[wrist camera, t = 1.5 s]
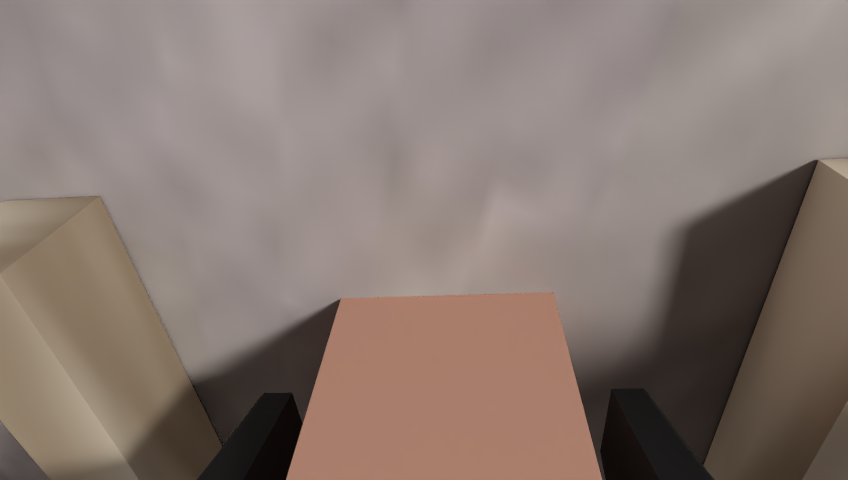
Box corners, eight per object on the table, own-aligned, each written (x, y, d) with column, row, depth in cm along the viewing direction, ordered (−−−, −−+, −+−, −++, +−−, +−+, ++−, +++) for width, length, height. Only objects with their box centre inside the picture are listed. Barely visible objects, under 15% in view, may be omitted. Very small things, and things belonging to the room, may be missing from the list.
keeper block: (553, 291, 10) (631, 590, 6) (542, 427, 13) (591, 716, 8) (341, 297, 11) (254, 581, 6) (370, 428, 13) (323, 703, 9)
